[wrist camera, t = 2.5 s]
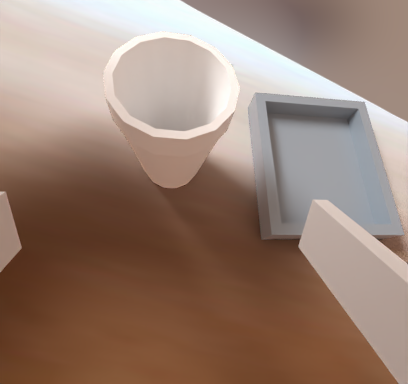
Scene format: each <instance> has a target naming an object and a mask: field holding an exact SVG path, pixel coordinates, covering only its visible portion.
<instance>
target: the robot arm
mask: <svg viewBox="0 0 408 384" xmlns="http://www.w3.org/2000/svg"><path fill="white" fill-rule="evenodd" d="M298 247H299V249H300V250H301V251H302V253H303V254H304V255H305V257H306V258H307V259H308V261H309V262H310V264H311V265H312V266H313V268H314V269H315V270H316V272H317V273H318V274H319V276H320V277H321V278H322V280H323V281H324V283H325V284H326V285H327V287H328V288H329V289H330V291H331V292H332V293H333V295H334V296H335V298H336V299H337V300H338V302H339V303H340V304H341V306H342V307H343V308H344V310H345V311H346V312H347V314H348V315H349V317H350V318H351V319H352V321H353V322H354V323H355V325H356V326H357V327H358V329H359V330H360V332H361V333H362V334H363V336H364V337H365V338H366V340H367V341H368V342H369V344H370V345H371V346H372V348H373V349H374V351H375V352H376V353H377V355H378V356H379V357H380V359H381V360H382V361H383V363H384V364H385V366H386V367H387V368H388V370H389V371H390V372H391V374H392V375H393V376H394V378H395V379H396V380H397V382H398V383H399V384H408V263H407V262H405V261H403V260H402V259H401V258H400V257H398V256H397V255H396V254H395V253H393V252H392V251H391V250H390V249H388V248H387V247H386V246H385V245H383V244H382V243H381V242H380V241H378V240H377V239H376V238H375V237H373V236H372V235H371V234H370V233H368V232H367V231H366V230H365V229H363V228H362V227H361V226H360V225H358V224H357V223H356V222H355V221H353V220H352V219H351V218H350V217H348V216H347V215H346V214H345V213H343V212H342V211H341V210H340V209H338V208H337V207H336V206H335V205H333V204H332V203H331V202H330V201H328V200H312V203H311V206H310V210H309V213H308V216H307V220H306V223H305V226H304V229H303V233H302V236H301V239H300V242H299V246H298ZM21 248H22V247H21V243H20V240H19V236H18V233H17V229H16V226H15V222H14V219H13V215H12V212H11V208H10V205H9V201H8V198H7V194H6V192H0V272H1V271H2V270H3V269H4V268H5V266H6V265H7V264H8V263H9V262H10V261H11V260H12V259H13V257H14V256H15V255H16V254H17V253H18V252H19V251H20V249H21Z"/></svg>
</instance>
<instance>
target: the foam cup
mask: <svg viewBox="0 0 408 384" xmlns="http://www.w3.org/2000/svg"><path fill="white" fill-rule="evenodd" d="M103 78H104V88H105V98H106V101H107V104H108V107H109V110H110V113H111V115H112V118H113V121H114V122H115V123H116V125H117V126H118V127H119V129H120V130H121V131H122V133H123V134H124V135H125V137H126V139H127V140H128V142H129V144H130V146H131V148H132V149H133V151H134V153H135V155H136V156H137V158H138V160H139V162H140V164H141V165H142V167H143V169H144V171H145V172H146V174H147V175H148V176H149V178H150V179H151V180H152V182H154V183H156V184H158V185H159V186H161V187H163V188H178V187H181V186H183V185H186V184H188V182H189V181H190V180H191V179H192V178H193V177H194V176H195V175H196V173H197V172H198V170H199V169H200V167H201V166H202V164H203V162H204V161H205V159H206V158H207V156H208V155H209V153H210V151H211V150H212V148H213V147H214V145H215V144H216V142H217V141H218V139H219V138H220V137H221V136H222V135H223V134H224V133H225V132H226V131H227V129H228V126H229V124H230V121H231V119H232V116H233V114H234V111H235V107H236V103H237V99H238V94H239V90H240V87H239V84H238V81H237V78H236V75H235V72H234V68H233V66H232V65H231V64H230V63H229V62H228V60H227V59H226V58H225V57H224V56H223V55H222V54H221V53H220V52H219V51H218V50H217V49H216V48H215V47H213V46H211V45H209V44H207V43H205V42H203V41H201V40H199V39H197V38H195V37H193V36H191V35H185V34H178V33H171V32H164V31H163V32H157V33H152V34H147V35H142V36H136V37H135V38H133V39H132V40H130V41H129V42H127V43H125V44H124V45H122V46H121V47H119V48H118V49H116V50H115V51H114V52H113V54H112V56H111V58H110V60H109V62H108V64H107V66H106V68H105V69H104V71H103Z"/></svg>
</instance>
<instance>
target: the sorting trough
mask: <svg viewBox="0 0 408 384" xmlns="http://www.w3.org/2000/svg"><path fill="white" fill-rule="evenodd" d="M248 114H249V124H250V133H251V143H252V153H253V163H254V173H255V183H256V193H257V202H258V212H259V222H260V232H261V239H301V236H302V233H303V229H304V226H305V223H306V220H307V216H308V213H309V210H310V206H311V203H312V200H328V201H330V202H331V203H332V204H333V205H335V206H336V207H337V208H338V209H340V210H341V211H342V212H343V213H345V214H346V215H347V216H348V217H350V218H351V219H352V220H353V221H355V222H356V223H357V224H358V225H360V226H361V227H362V228H363V229H365V230H366V231H367V232H368V233H370V234H371V235H372V236H373V237H375V238H376V239H386V238H392V237H397V236H402V235H404V232H403V228H402V225H401V222H400V218H399V215H398V212H397V208H396V205H395V202H394V198H393V195H392V192H391V188H390V185H389V182H388V178H387V175H386V172H385V169H384V165H383V162H382V159H381V155H380V152H379V149H378V145H377V142H376V139H375V135H374V132H373V129H372V125H371V122H370V119H369V115H368V112H367V109H366V105H365V102H359V101H347V100H336V99H324V98H313V97H301V96H290V95H278V94H267V93H255V94H254V96H253V98H252V101H251V103H250V105H249V107H248Z"/></svg>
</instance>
